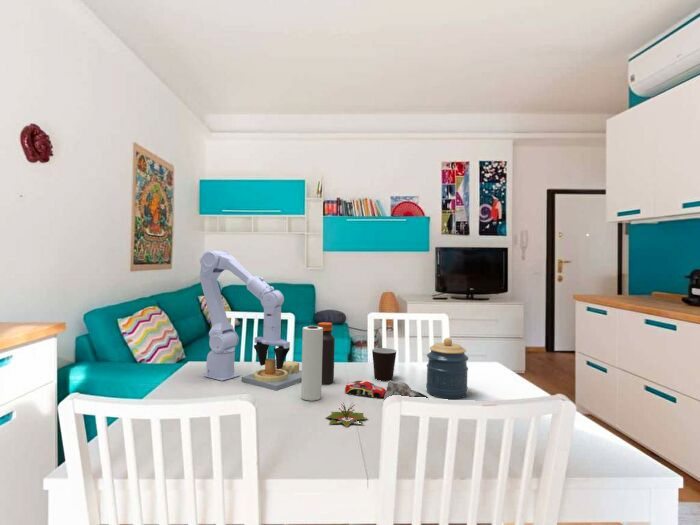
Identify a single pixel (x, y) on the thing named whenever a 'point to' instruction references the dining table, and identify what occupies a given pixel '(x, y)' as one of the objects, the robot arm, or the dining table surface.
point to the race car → (365, 389)
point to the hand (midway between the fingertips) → (271, 366)
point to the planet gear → (270, 368)
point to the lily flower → (345, 416)
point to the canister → (447, 370)
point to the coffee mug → (383, 363)
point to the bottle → (327, 353)
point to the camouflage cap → (401, 390)
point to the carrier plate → (275, 384)
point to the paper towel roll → (312, 363)
